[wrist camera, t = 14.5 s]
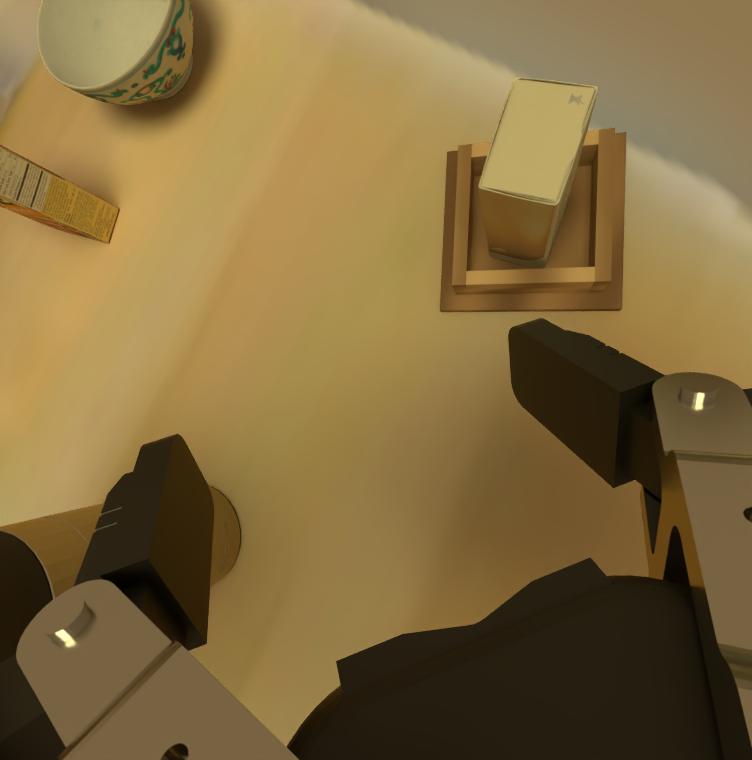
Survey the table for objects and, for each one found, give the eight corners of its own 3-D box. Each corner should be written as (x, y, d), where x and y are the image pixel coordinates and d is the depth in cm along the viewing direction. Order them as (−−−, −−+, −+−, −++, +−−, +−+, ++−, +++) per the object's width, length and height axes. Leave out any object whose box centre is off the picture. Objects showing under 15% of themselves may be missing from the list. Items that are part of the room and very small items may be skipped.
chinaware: (226, 126, 44) (168, 69, 37) (104, 150, 48) (31, 102, 41) (231, -19, 45) (176, -104, 38) (112, 16, 49) (41, -53, 42)
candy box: (50, 228, 50) (-142, 152, 35) (61, 191, 50) (-127, 99, 35) (110, 245, 47) (-71, 170, 33) (122, 205, 47) (-55, 112, 32)
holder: (441, 311, 37) (434, 302, 33) (448, 155, 37) (442, 131, 34) (620, 310, 33) (631, 299, 30) (624, 137, 34) (636, 107, 30)
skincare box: (514, 182, 35) (515, 67, 23) (572, 193, 34) (603, 78, 22) (486, 261, 35) (474, 187, 24) (543, 275, 34) (559, 204, 22)
